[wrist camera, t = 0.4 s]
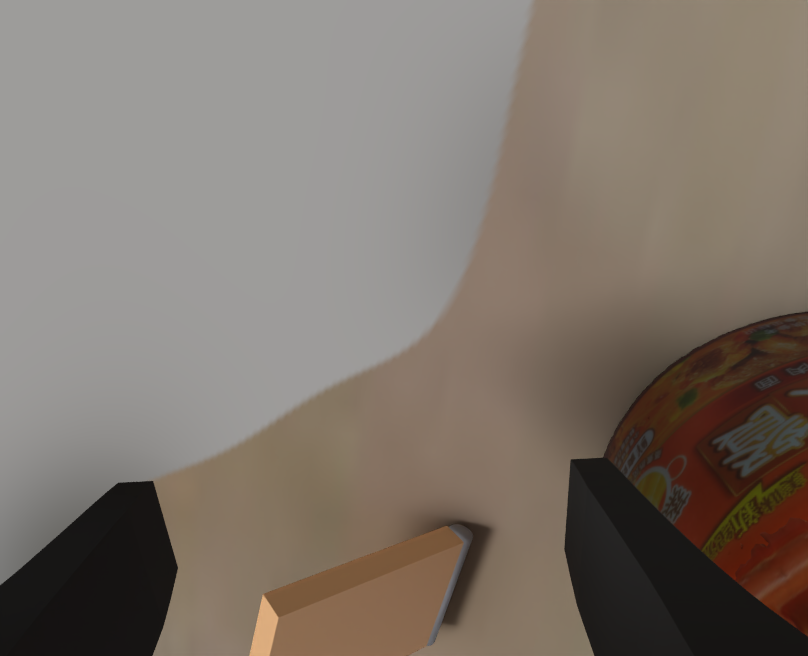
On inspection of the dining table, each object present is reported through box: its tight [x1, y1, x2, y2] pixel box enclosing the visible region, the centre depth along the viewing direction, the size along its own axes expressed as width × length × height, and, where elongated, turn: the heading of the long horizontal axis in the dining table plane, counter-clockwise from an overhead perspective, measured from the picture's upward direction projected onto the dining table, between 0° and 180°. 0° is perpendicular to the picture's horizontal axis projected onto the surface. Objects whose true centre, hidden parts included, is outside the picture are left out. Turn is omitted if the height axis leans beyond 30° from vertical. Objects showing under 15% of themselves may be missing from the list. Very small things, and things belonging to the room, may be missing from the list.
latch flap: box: [250, 524, 473, 656], centre depth 22 cm, size 5×8×1 cm
